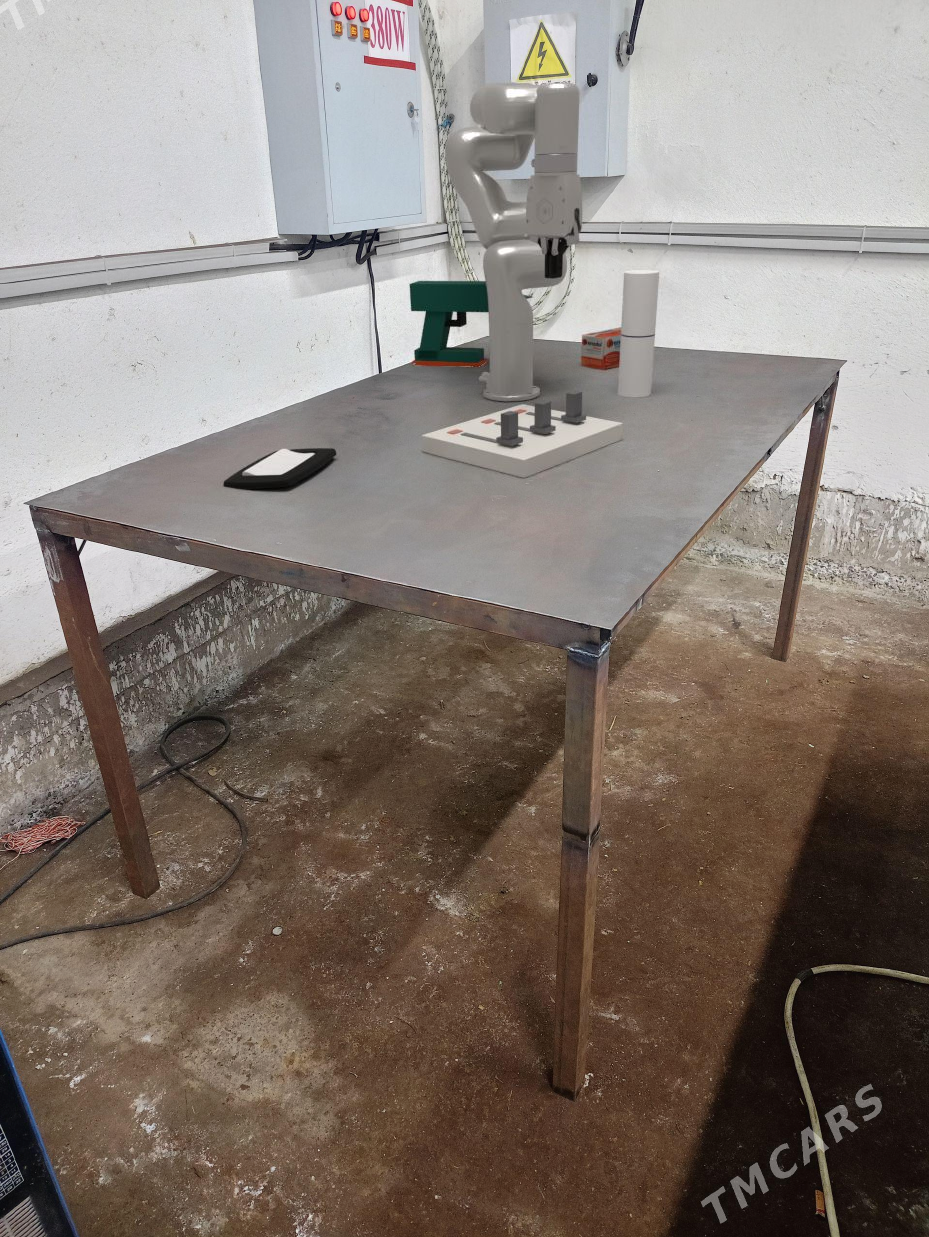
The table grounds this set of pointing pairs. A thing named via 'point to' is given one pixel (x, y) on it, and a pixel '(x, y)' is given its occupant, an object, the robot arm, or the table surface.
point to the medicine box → (601, 349)
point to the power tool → (447, 320)
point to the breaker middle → (542, 418)
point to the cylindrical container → (638, 332)
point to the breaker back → (573, 407)
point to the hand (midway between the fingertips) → (553, 277)
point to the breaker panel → (536, 450)
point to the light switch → (280, 468)
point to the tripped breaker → (509, 429)
